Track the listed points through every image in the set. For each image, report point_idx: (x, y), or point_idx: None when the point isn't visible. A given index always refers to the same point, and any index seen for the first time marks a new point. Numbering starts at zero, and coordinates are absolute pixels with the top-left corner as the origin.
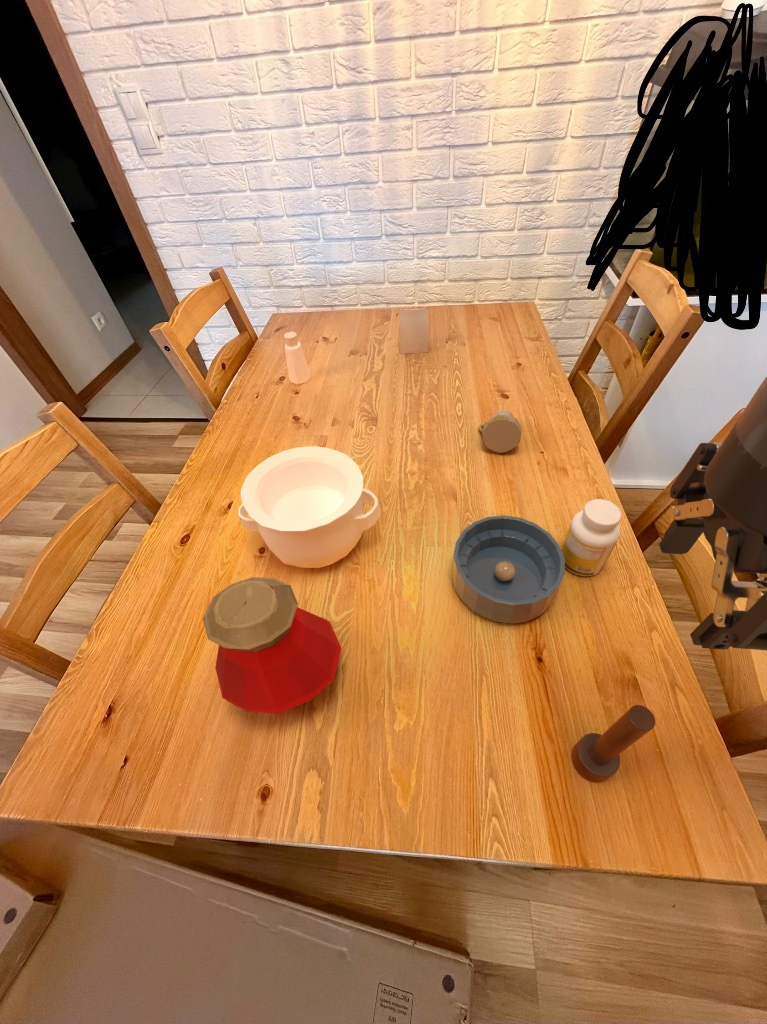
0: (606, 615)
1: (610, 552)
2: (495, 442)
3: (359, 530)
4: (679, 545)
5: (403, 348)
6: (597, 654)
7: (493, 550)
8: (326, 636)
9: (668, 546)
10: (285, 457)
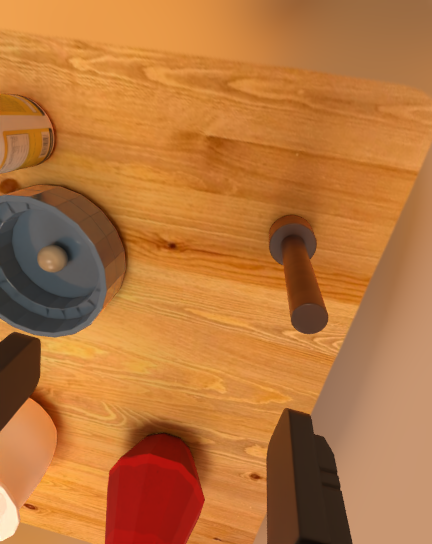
0: (118, 133)
1: (11, 111)
2: None
3: None
4: (16, 385)
5: None
6: (172, 173)
7: (19, 252)
8: (140, 484)
9: (21, 398)
10: None
